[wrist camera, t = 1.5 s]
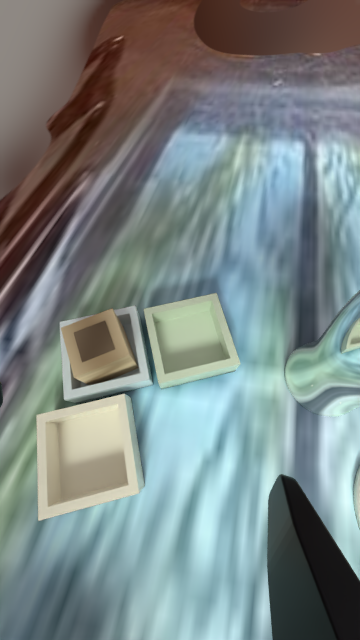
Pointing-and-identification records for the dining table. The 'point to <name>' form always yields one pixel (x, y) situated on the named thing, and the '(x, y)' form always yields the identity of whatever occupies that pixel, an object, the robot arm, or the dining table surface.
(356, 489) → the stone coaster
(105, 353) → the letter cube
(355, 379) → the beer glass
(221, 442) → the dining table surface
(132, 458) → the cream dish
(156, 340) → the sage dish
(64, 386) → the pale blue dish
